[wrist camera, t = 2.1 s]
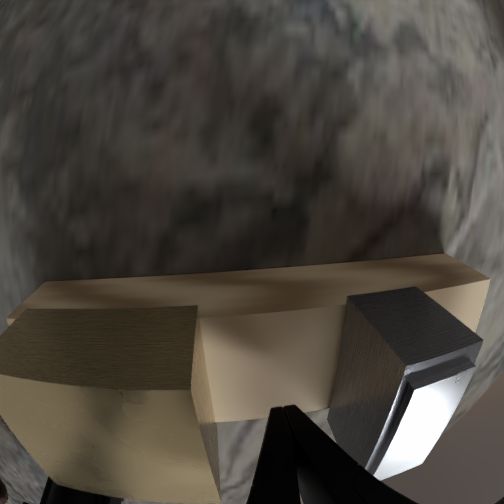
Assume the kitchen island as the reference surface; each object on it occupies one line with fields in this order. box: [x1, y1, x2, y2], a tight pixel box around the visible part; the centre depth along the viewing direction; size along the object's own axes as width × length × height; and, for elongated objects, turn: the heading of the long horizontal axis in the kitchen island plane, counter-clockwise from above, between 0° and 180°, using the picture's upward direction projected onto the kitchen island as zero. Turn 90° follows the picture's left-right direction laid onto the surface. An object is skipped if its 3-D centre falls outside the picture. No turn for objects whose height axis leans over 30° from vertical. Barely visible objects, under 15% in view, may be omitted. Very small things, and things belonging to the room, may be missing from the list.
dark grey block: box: [327, 286, 483, 480], centre depth 9 cm, size 3×6×4 cm, turn 2°
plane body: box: [6, 253, 490, 422], centre depth 13 cm, size 22×6×4 cm, turn 92°
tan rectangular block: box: [0, 305, 221, 504], centre depth 9 cm, size 7×6×4 cm
